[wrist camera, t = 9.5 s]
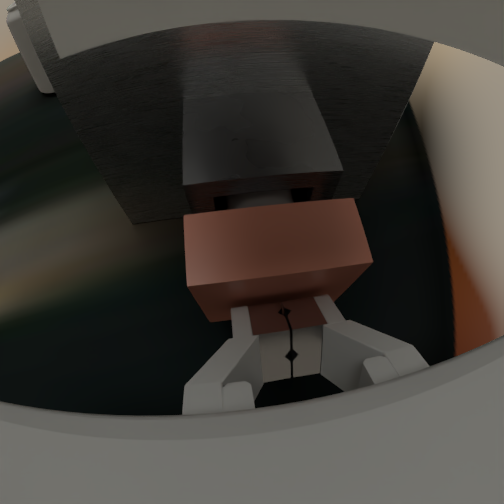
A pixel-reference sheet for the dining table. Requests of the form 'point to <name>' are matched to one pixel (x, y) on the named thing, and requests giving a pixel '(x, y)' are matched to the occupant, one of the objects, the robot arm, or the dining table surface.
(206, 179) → the box
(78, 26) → the white key
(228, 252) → the brown block
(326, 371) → the robot arm
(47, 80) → the beverage can
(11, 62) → the dining table surface
